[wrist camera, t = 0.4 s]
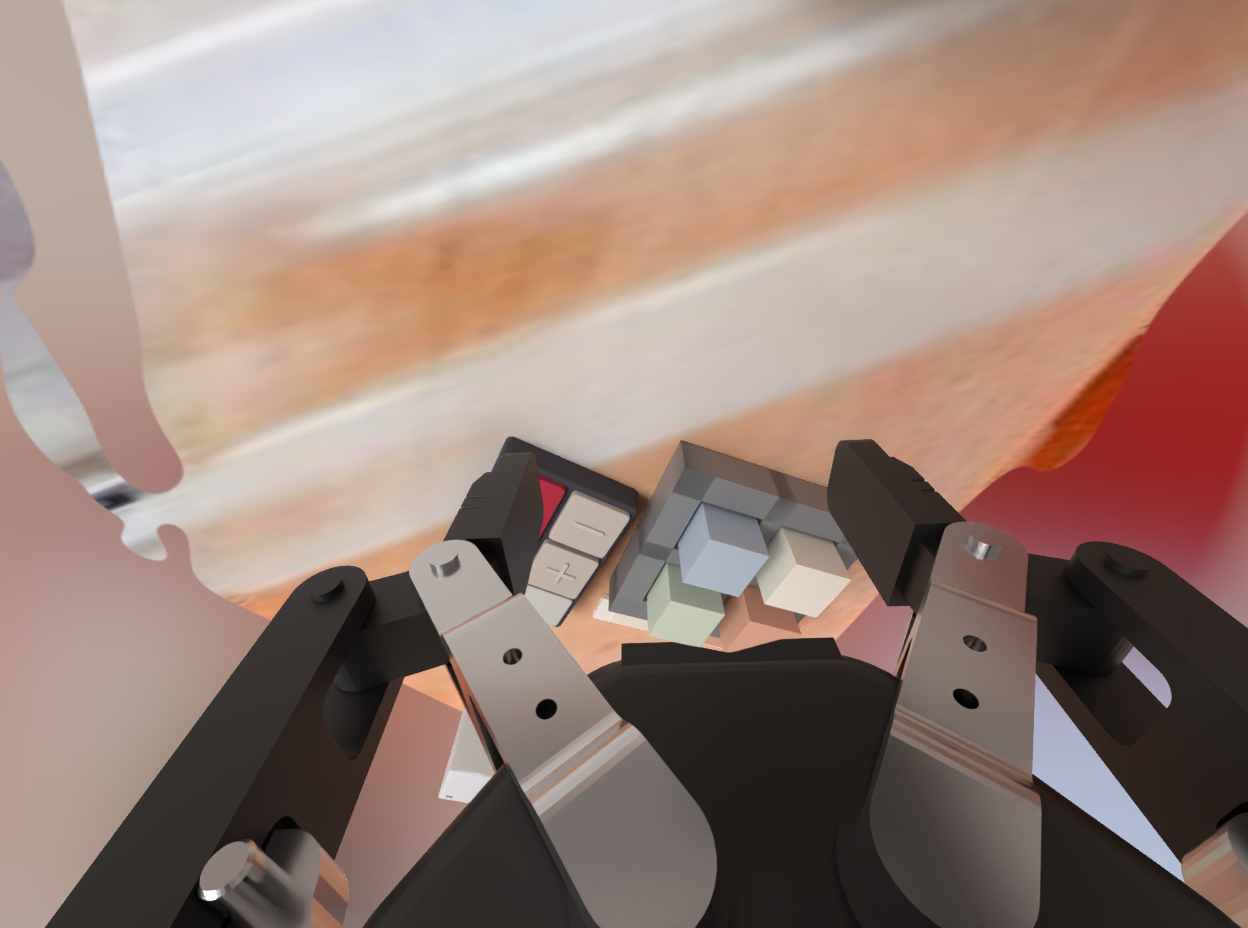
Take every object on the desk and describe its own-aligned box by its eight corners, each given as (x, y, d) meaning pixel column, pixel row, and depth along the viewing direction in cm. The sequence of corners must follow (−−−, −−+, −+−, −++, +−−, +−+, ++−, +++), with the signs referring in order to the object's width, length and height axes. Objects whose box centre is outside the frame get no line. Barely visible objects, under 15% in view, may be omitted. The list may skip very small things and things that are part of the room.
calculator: (640, 517, 34) (558, 636, 41) (638, 484, 38) (562, 598, 45) (498, 457, 32) (435, 596, 39) (510, 428, 35) (451, 559, 42)
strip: (602, 593, 44) (602, 599, 44) (753, 631, 47) (755, 637, 46) (593, 612, 46) (592, 618, 45) (739, 647, 49) (740, 654, 48)
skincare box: (510, 682, 53) (483, 806, 43) (472, 674, 52) (435, 799, 42) (523, 653, 50) (497, 779, 40) (483, 643, 49) (446, 770, 39)
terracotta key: (739, 580, 39) (750, 621, 35) (786, 593, 39) (801, 634, 36) (716, 612, 41) (723, 653, 38) (760, 623, 42) (771, 665, 38)
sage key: (667, 560, 37) (670, 600, 34) (716, 573, 38) (725, 614, 35) (646, 594, 40) (648, 635, 36) (694, 606, 41) (699, 648, 37)
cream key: (781, 524, 35) (796, 564, 32) (831, 539, 36) (851, 579, 33) (752, 563, 37) (764, 604, 34) (800, 576, 38) (816, 617, 35)
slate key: (702, 500, 34) (710, 539, 31) (756, 517, 35) (769, 556, 31) (677, 542, 36) (682, 582, 33) (728, 556, 37) (738, 597, 34)
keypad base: (680, 440, 35) (685, 467, 32) (864, 499, 38) (883, 529, 35) (609, 579, 43) (608, 611, 40) (763, 619, 46) (772, 651, 43)
